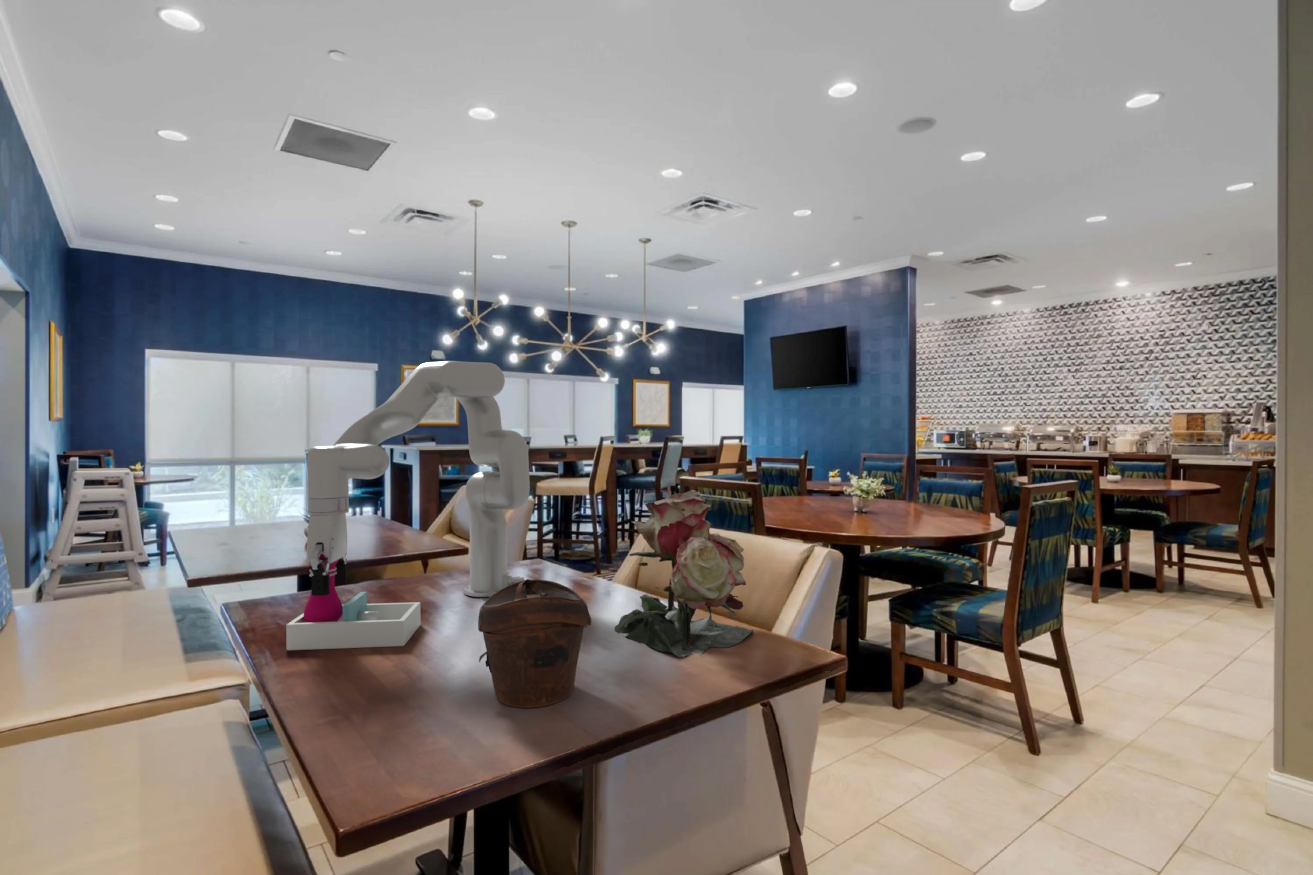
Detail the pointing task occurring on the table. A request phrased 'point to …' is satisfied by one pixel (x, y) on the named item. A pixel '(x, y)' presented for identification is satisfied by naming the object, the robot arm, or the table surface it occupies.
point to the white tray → (357, 629)
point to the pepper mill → (324, 601)
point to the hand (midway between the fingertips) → (329, 588)
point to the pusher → (358, 609)
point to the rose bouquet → (687, 579)
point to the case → (533, 641)
